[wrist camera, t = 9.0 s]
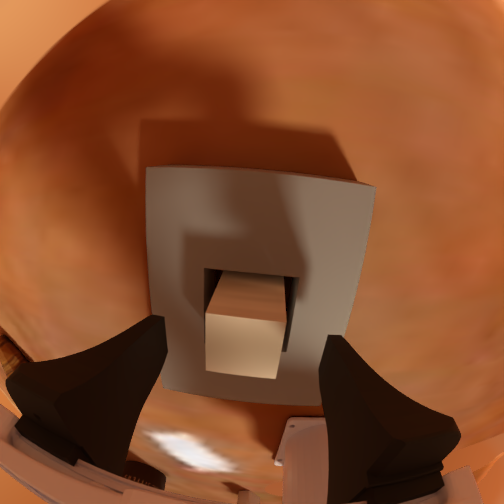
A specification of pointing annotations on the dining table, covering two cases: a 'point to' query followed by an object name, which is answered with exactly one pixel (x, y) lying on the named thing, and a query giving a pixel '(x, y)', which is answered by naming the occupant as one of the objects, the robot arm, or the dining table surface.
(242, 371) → the peg
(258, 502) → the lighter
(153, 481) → the coffee mug
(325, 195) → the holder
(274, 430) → the dining table surface
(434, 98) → the dining table surface
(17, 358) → the croissant
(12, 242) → the dining table surface
